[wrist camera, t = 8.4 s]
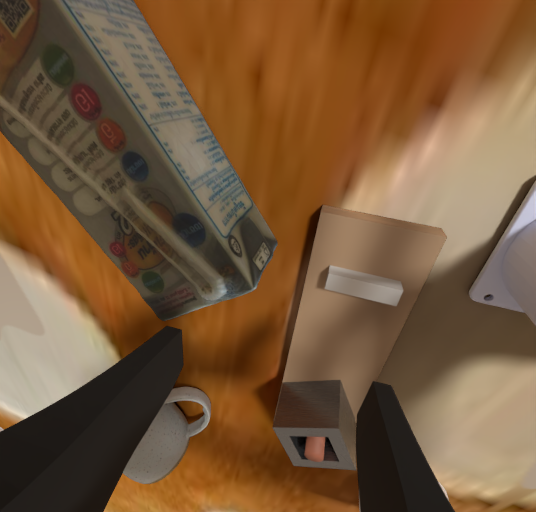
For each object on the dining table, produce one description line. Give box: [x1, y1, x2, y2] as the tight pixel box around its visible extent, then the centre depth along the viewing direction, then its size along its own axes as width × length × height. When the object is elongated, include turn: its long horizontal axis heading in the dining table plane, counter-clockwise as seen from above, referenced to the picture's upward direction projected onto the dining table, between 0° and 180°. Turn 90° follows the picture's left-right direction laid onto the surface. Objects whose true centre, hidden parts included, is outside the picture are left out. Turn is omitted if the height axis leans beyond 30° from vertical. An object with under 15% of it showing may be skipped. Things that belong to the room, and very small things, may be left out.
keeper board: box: [274, 205, 447, 462], centre depth 21 cm, size 7×22×6 cm, turn 173°
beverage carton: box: [0, 0, 277, 321], centre depth 16 cm, size 8×19×7 cm, turn 31°
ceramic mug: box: [123, 387, 211, 484], centre depth 30 cm, size 11×8×8 cm
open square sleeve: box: [273, 380, 356, 470], centre depth 23 cm, size 5×5×4 cm
